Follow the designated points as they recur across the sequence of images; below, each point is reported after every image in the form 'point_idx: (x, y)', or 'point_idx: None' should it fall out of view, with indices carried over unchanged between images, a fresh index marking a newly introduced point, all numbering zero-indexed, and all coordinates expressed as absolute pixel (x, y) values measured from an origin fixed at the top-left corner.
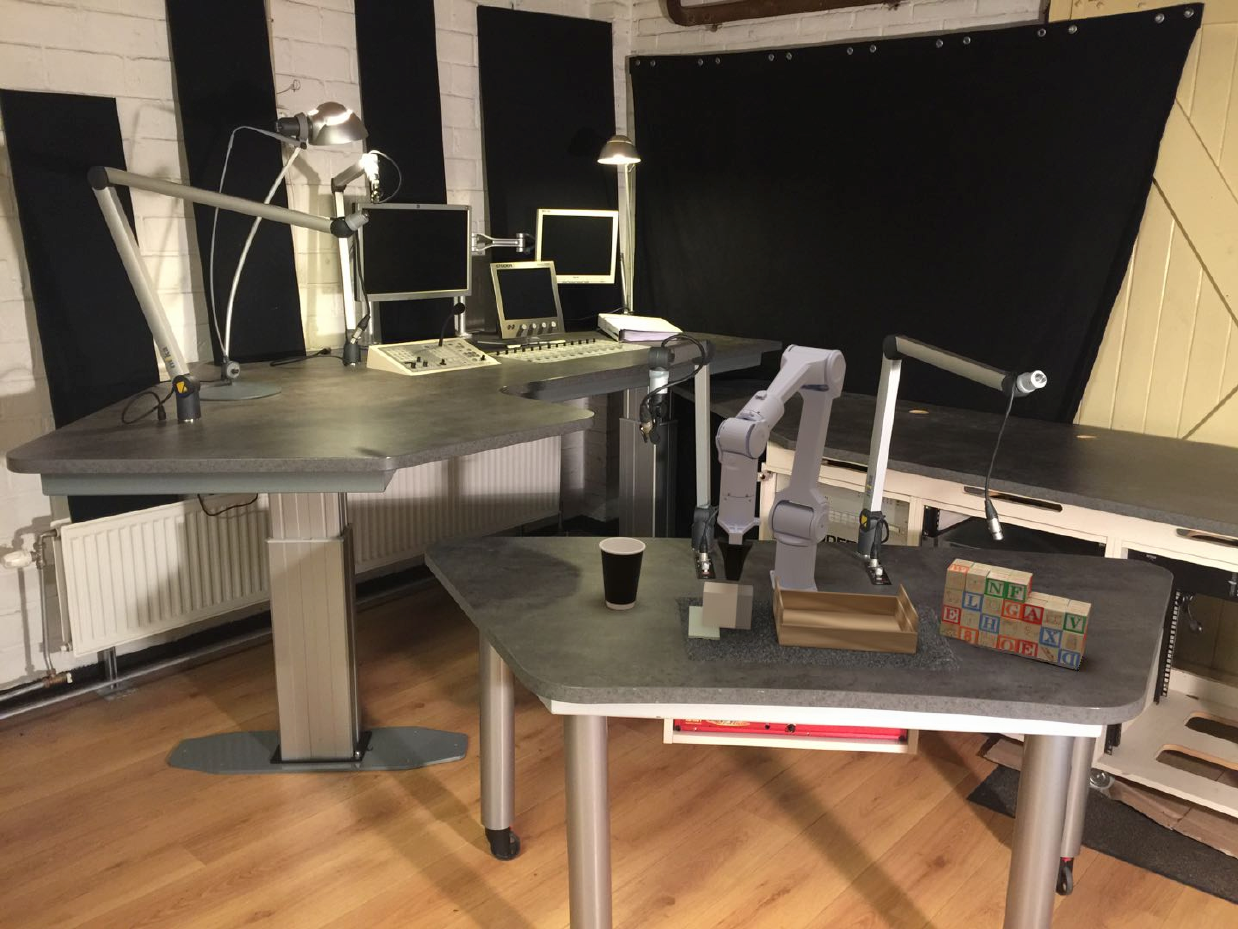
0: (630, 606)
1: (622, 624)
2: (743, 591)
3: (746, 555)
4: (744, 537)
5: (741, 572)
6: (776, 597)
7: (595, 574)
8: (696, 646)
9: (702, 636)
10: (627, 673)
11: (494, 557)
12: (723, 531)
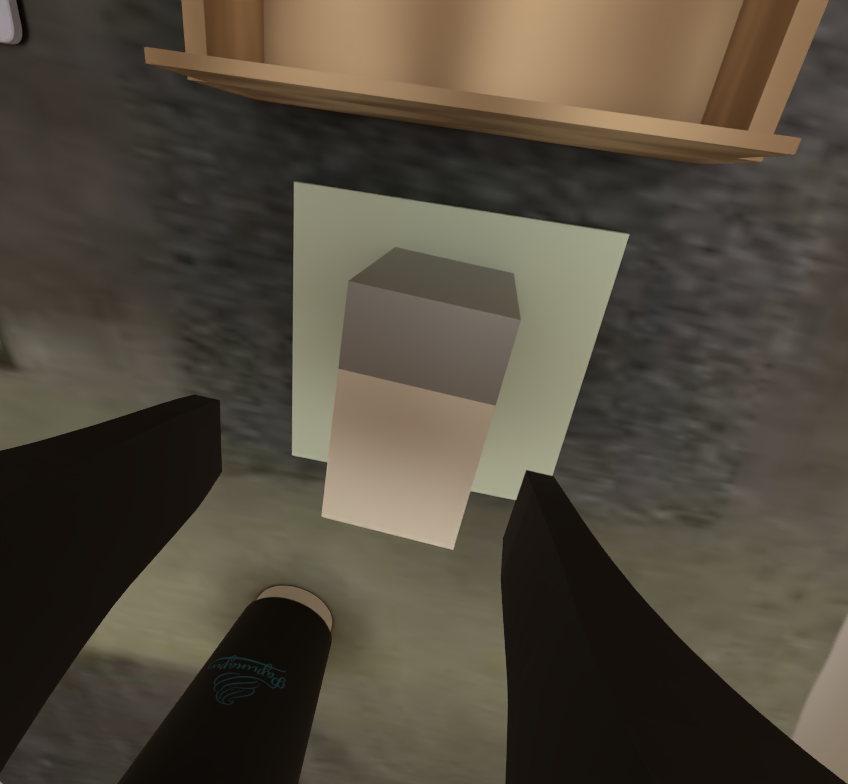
0: (316, 603)
1: (430, 632)
2: (446, 361)
3: (740, 697)
4: (5, 520)
5: (578, 514)
6: (360, 102)
7: (103, 627)
8: (610, 487)
9: (555, 464)
10: (754, 678)
11: (83, 764)
12: (9, 737)
